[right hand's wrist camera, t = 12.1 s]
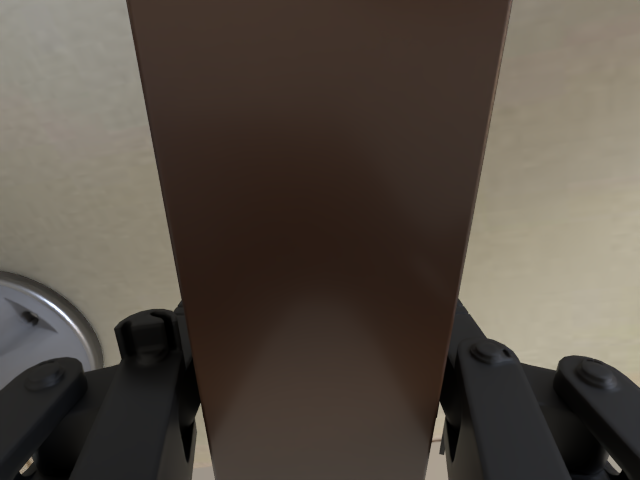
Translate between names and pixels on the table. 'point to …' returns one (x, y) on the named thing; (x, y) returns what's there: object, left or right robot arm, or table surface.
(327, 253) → the beam
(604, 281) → the table surface
